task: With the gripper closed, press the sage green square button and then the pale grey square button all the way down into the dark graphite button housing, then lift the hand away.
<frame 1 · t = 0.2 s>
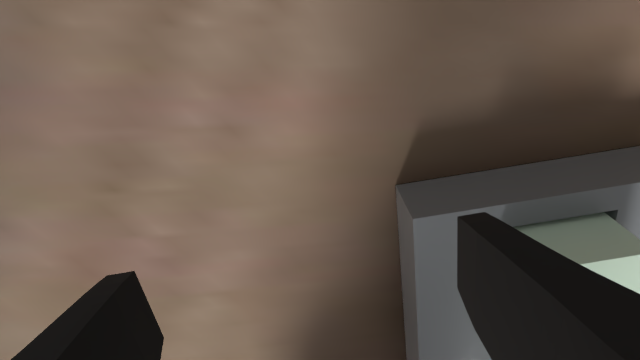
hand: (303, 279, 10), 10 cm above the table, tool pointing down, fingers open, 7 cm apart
button housing: (508, 299, 24), on the table
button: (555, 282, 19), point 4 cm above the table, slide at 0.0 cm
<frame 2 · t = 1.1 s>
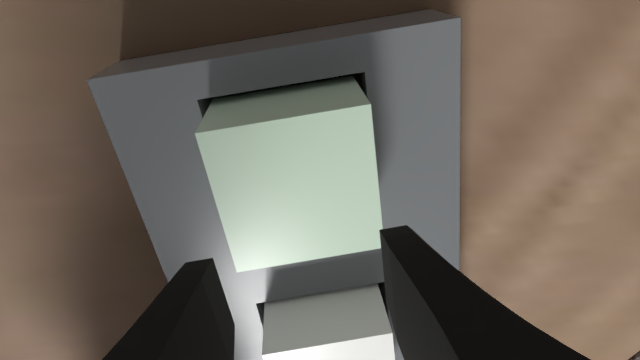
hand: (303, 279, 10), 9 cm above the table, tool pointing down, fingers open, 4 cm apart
button housing: (310, 221, 20), on the table
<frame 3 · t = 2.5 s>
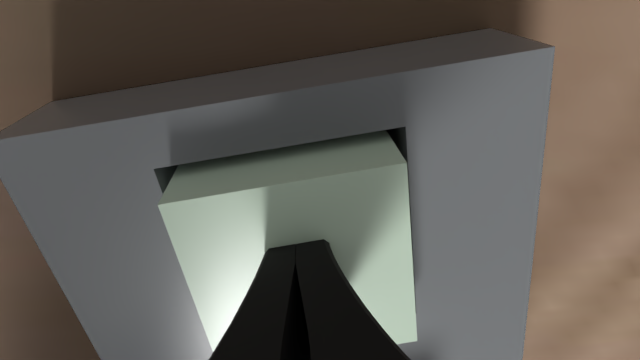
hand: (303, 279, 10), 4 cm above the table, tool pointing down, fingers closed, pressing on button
button housing: (318, 301, 15), on the table
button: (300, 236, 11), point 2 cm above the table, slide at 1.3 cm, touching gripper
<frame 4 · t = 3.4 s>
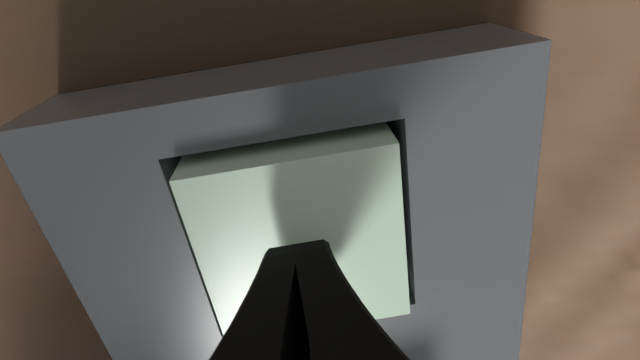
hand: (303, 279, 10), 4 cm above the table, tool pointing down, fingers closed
button housing: (319, 292, 15), on the table
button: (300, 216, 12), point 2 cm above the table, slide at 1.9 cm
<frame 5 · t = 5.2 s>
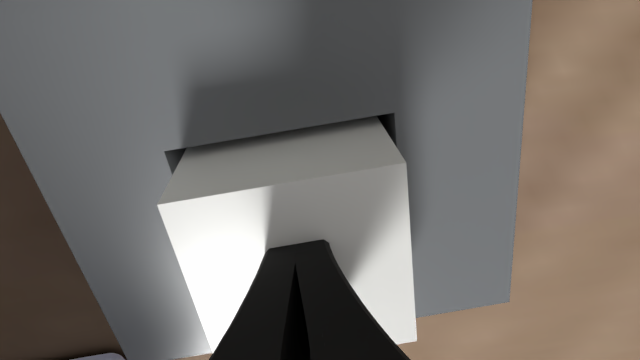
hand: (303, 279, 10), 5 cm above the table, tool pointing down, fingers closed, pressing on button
button housing: (268, 39, 12), on the table
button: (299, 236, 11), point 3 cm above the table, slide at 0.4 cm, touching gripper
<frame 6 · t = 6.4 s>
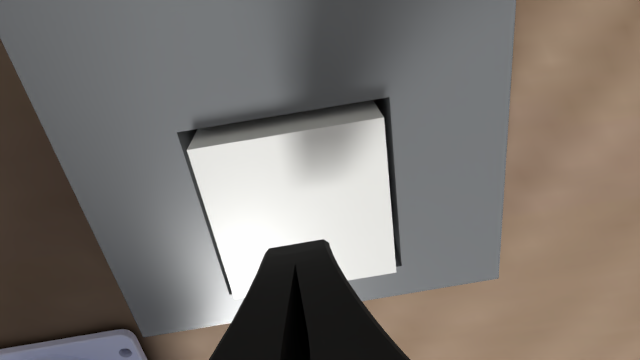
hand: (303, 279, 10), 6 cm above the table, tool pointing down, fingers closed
button housing: (272, 30, 13), on the table
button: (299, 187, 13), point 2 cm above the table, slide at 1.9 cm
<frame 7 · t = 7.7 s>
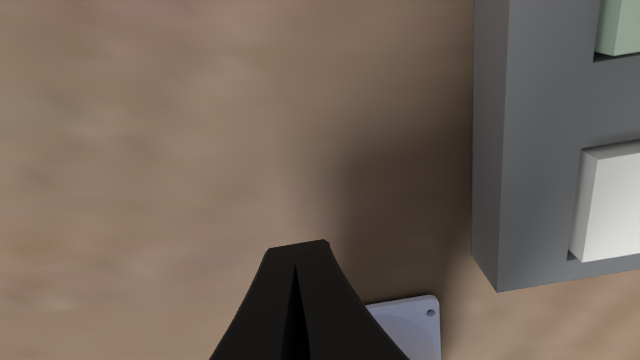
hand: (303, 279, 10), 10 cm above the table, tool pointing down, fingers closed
button housing: (605, 78, 19), on the table
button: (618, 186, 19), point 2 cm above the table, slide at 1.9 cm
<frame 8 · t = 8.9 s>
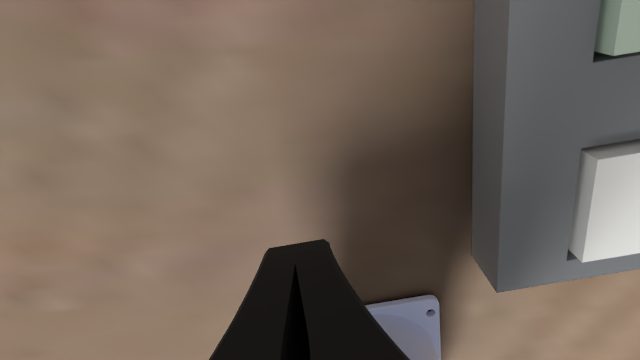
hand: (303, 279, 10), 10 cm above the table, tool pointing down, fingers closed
button housing: (605, 78, 19), on the table
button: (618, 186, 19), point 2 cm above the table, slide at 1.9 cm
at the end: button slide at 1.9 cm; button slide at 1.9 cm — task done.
